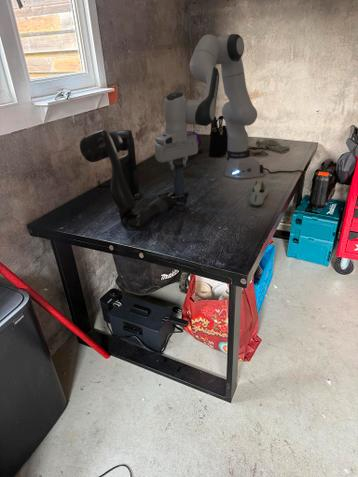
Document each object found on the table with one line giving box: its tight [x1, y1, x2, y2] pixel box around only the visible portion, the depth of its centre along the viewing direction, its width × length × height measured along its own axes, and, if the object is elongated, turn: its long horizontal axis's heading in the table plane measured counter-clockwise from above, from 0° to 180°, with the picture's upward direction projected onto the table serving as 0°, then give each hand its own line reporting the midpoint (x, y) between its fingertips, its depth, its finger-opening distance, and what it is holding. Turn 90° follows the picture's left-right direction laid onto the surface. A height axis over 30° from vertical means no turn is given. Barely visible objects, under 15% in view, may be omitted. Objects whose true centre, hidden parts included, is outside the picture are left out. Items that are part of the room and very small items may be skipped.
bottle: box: [173, 168, 186, 212], centre depth 148 cm, size 4×4×21 cm
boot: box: [209, 115, 219, 139], centre depth 247 cm, size 9×24×20 cm, turn 168°
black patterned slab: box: [208, 115, 228, 158], centre depth 222 cm, size 21×9×25 cm, turn 148°
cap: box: [172, 161, 184, 170], centre depth 143 cm, size 4×4×2 cm
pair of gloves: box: [247, 138, 291, 157], centre depth 228 cm, size 30×26×5 cm
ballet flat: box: [249, 179, 269, 207], centre depth 158 cm, size 8×24×8 cm, turn 163°
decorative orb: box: [187, 130, 202, 150], centre depth 230 cm, size 15×15×15 cm
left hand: (182, 193), depth 152 cm, fingers closed on bottle, 4 cm apart
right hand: (178, 168), depth 144 cm, fingers closed on cap, 4 cm apart
